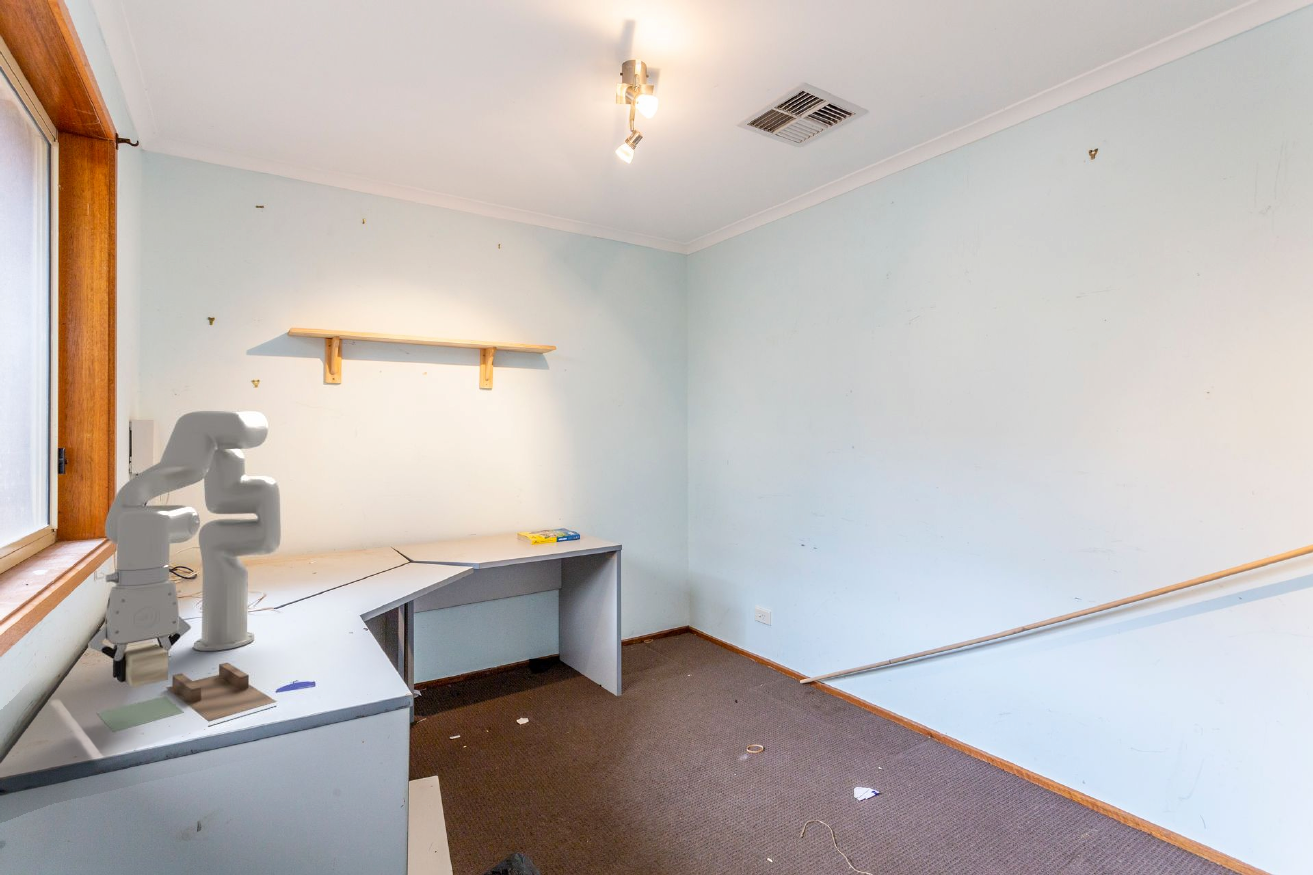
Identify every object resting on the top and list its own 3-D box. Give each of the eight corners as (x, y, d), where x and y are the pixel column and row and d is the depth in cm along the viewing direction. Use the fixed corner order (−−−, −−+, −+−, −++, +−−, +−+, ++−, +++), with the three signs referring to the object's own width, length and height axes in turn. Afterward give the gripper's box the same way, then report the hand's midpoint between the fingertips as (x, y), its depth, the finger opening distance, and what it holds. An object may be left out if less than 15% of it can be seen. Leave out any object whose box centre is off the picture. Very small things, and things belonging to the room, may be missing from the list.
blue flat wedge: (318, 686, 126) (319, 667, 137) (271, 693, 122) (276, 673, 133) (318, 693, 126) (319, 674, 137) (271, 701, 122) (276, 680, 133)
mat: (96, 718, 113) (97, 713, 113) (164, 700, 121) (164, 695, 121) (113, 737, 106) (113, 731, 106) (184, 717, 114) (184, 712, 114)
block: (117, 675, 114) (118, 647, 114) (151, 667, 118) (152, 641, 118) (132, 687, 107) (133, 658, 108) (167, 679, 111) (168, 651, 112)
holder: (166, 692, 125) (166, 675, 125) (229, 676, 134) (229, 660, 134) (208, 726, 110) (209, 707, 110) (276, 706, 119) (276, 688, 119)
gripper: (85, 587, 105) (83, 695, 104) (205, 572, 118) (203, 667, 118) (76, 581, 109) (73, 684, 109) (192, 567, 123) (190, 659, 122)
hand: (140, 674), depth 113 cm, fingers closed on block, 5 cm apart
